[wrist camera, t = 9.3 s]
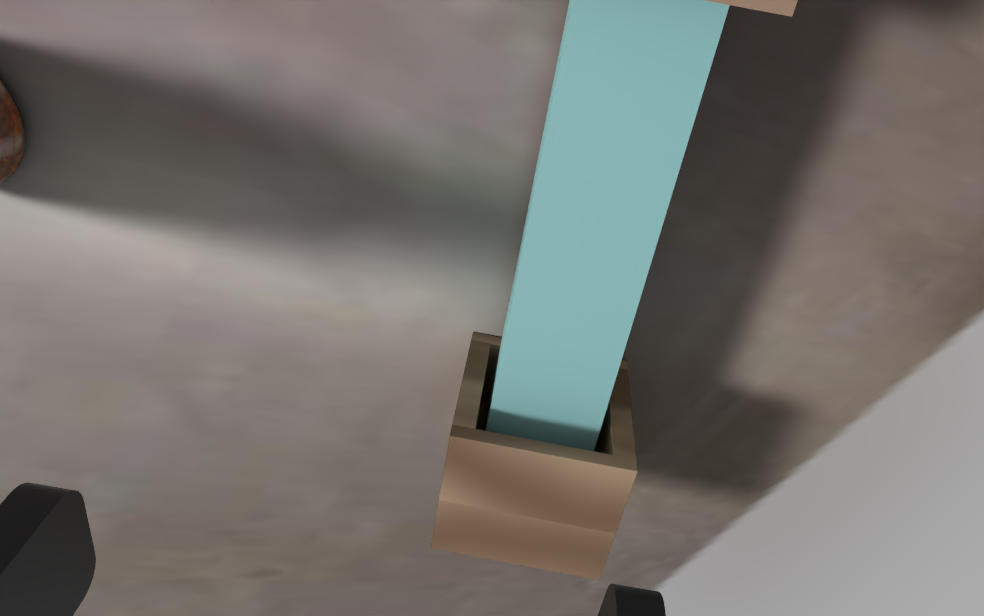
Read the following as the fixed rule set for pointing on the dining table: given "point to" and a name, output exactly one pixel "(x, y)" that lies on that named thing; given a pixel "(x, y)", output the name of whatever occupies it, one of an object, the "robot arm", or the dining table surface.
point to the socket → (532, 482)
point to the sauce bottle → (9, 135)
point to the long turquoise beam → (598, 208)
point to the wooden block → (764, 5)
